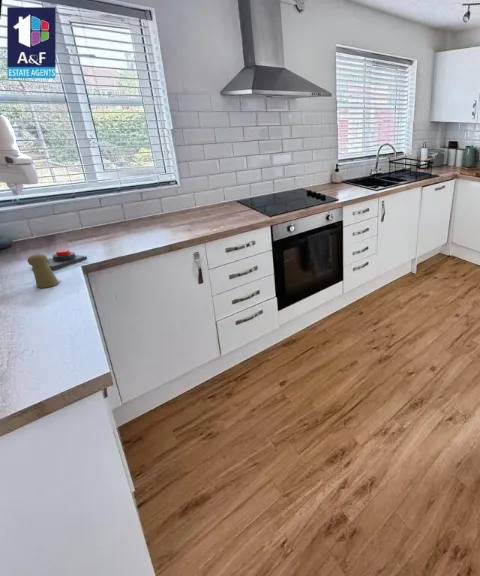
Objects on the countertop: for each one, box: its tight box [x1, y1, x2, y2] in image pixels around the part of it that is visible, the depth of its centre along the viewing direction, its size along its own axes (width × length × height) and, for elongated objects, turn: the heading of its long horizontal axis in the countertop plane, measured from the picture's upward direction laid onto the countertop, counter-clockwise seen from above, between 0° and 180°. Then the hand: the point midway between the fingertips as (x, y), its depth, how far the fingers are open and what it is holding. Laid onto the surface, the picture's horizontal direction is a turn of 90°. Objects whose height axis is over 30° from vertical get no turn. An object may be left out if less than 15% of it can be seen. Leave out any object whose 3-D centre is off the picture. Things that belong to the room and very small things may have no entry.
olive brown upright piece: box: [27, 253, 60, 289], centre depth 130 cm, size 6×6×11 cm
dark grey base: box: [47, 251, 88, 272], centre depth 148 cm, size 14×10×5 cm
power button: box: [55, 249, 71, 256], centre depth 149 cm, size 4×4×2 cm
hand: (18, 194), depth 146 cm, fingers closed
